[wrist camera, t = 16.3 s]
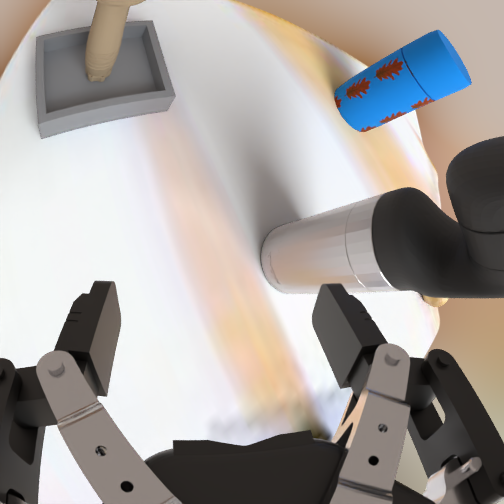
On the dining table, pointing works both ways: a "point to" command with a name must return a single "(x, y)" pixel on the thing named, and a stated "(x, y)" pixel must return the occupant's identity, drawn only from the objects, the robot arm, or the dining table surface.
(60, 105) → the tray
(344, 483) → the robot arm
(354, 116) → the thermos
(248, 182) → the dining table surface
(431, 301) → the onion
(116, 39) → the handle
